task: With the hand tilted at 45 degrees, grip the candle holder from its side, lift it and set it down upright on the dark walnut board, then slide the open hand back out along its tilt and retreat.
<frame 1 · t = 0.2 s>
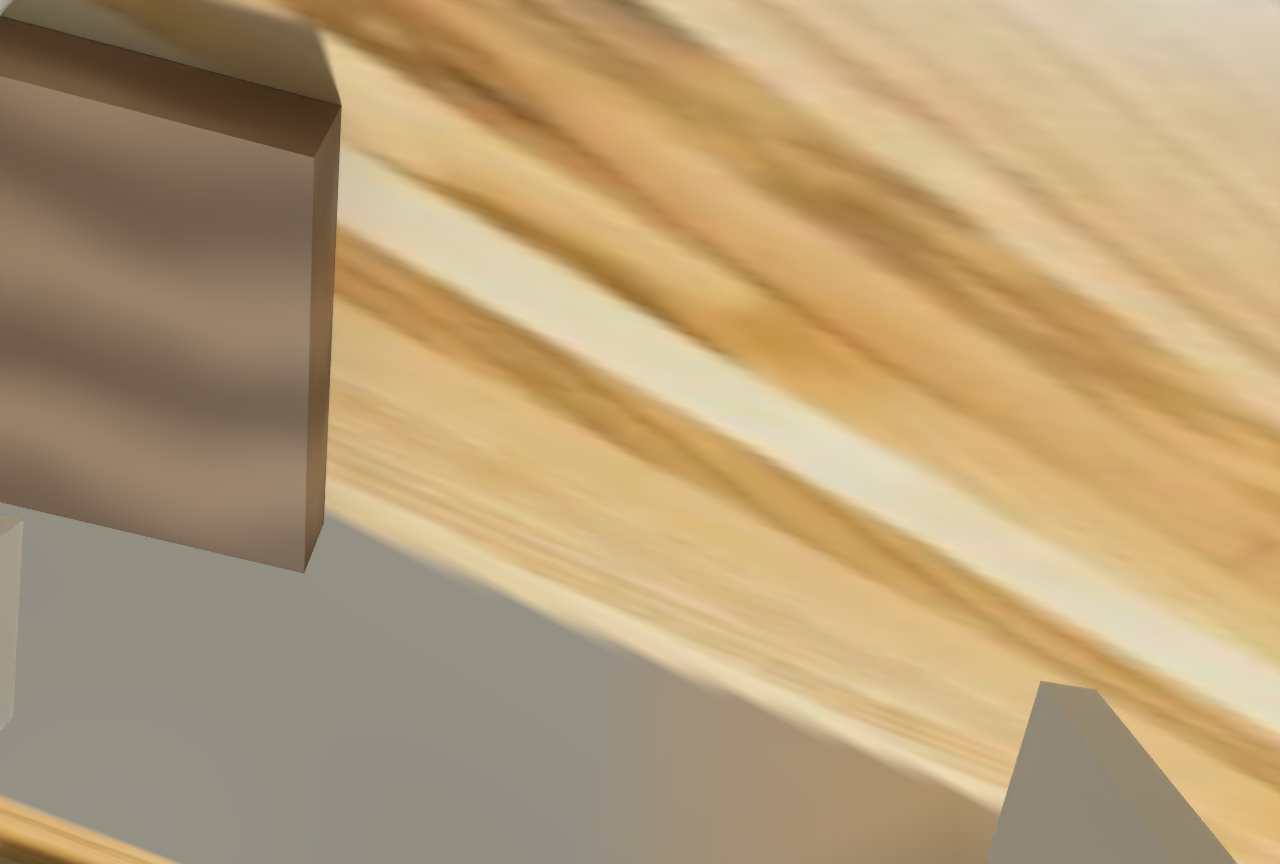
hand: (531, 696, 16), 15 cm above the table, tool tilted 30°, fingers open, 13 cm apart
walnut board: (74, 287, 33), on the table
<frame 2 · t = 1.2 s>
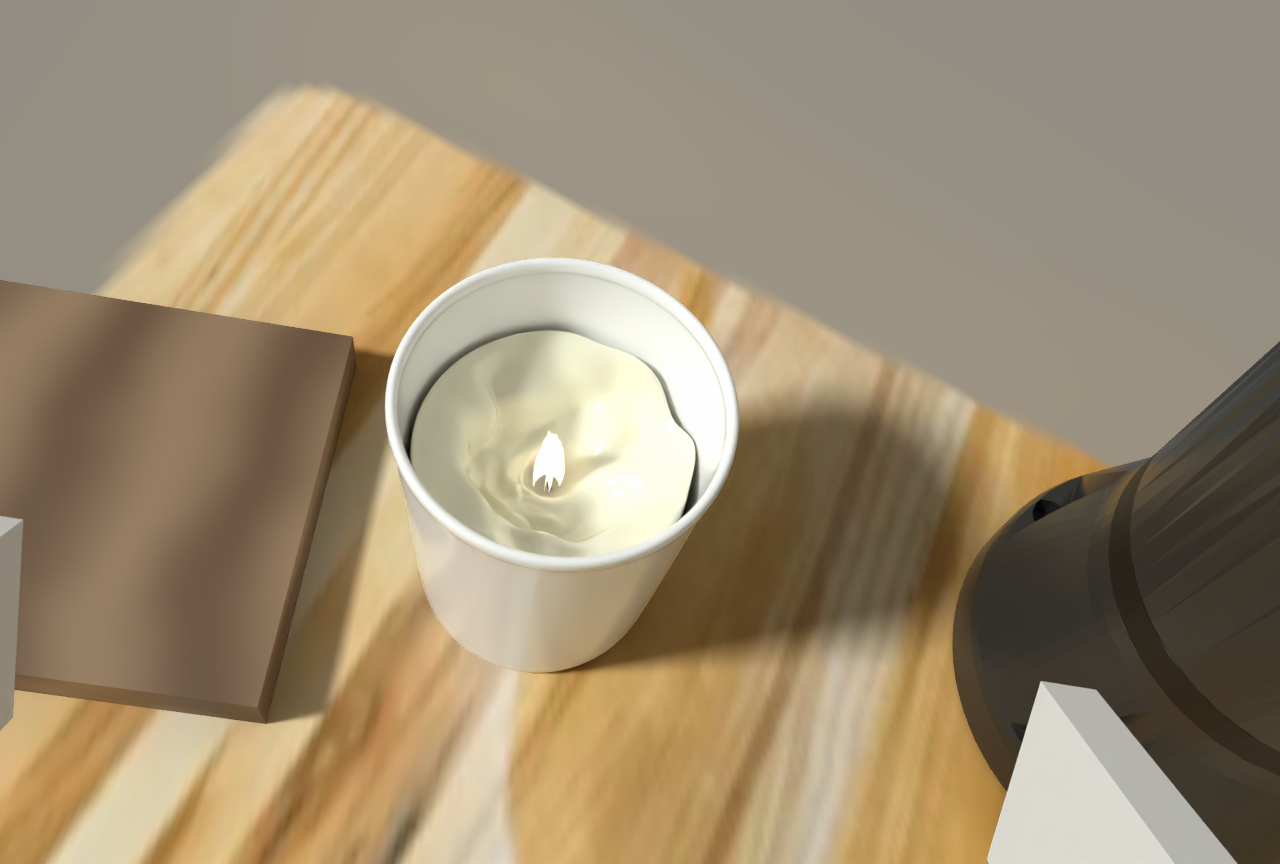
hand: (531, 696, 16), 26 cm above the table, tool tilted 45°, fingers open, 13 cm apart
candle holder: (536, 565, 44), on the table
walnut board: (85, 496, 43), on the table
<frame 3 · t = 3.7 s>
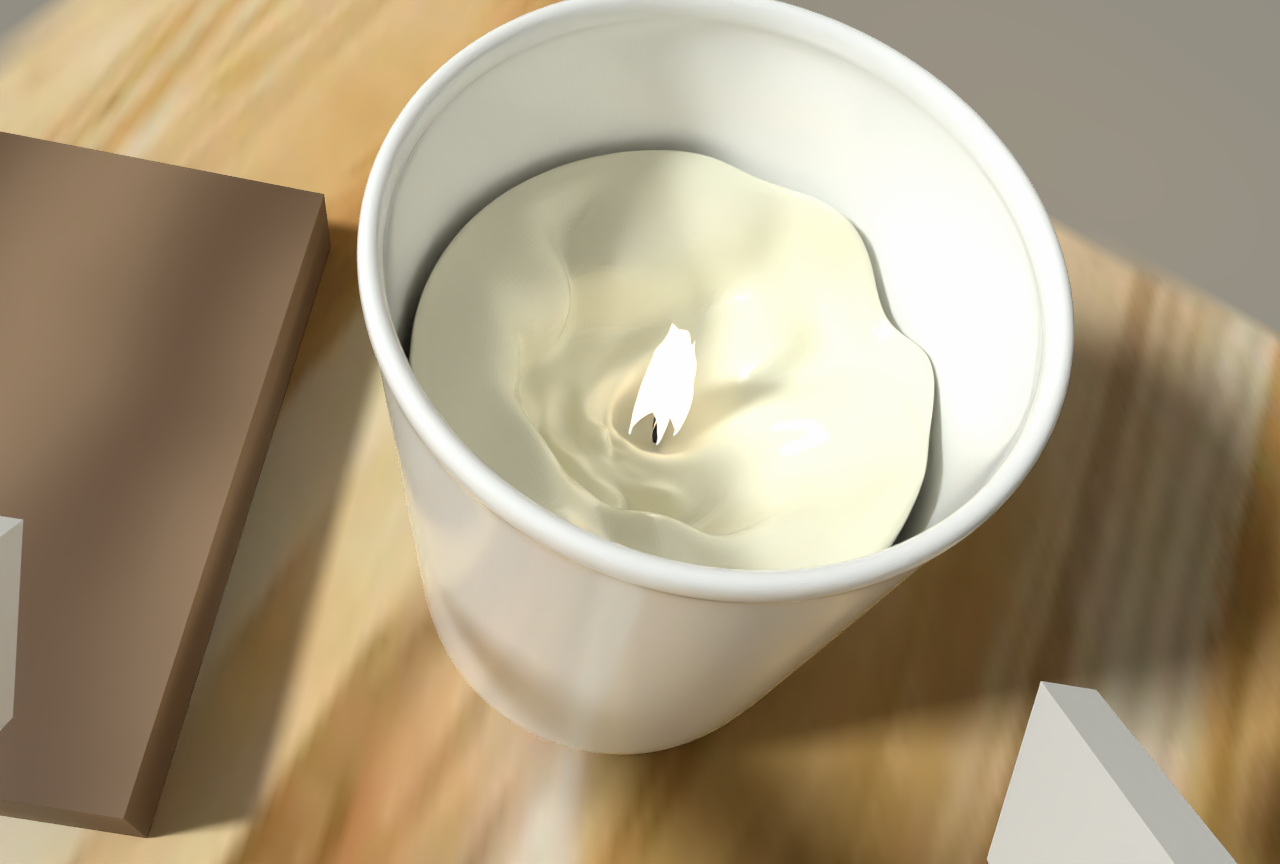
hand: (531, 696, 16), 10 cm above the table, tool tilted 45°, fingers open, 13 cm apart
candle holder: (613, 572, 27), on the table
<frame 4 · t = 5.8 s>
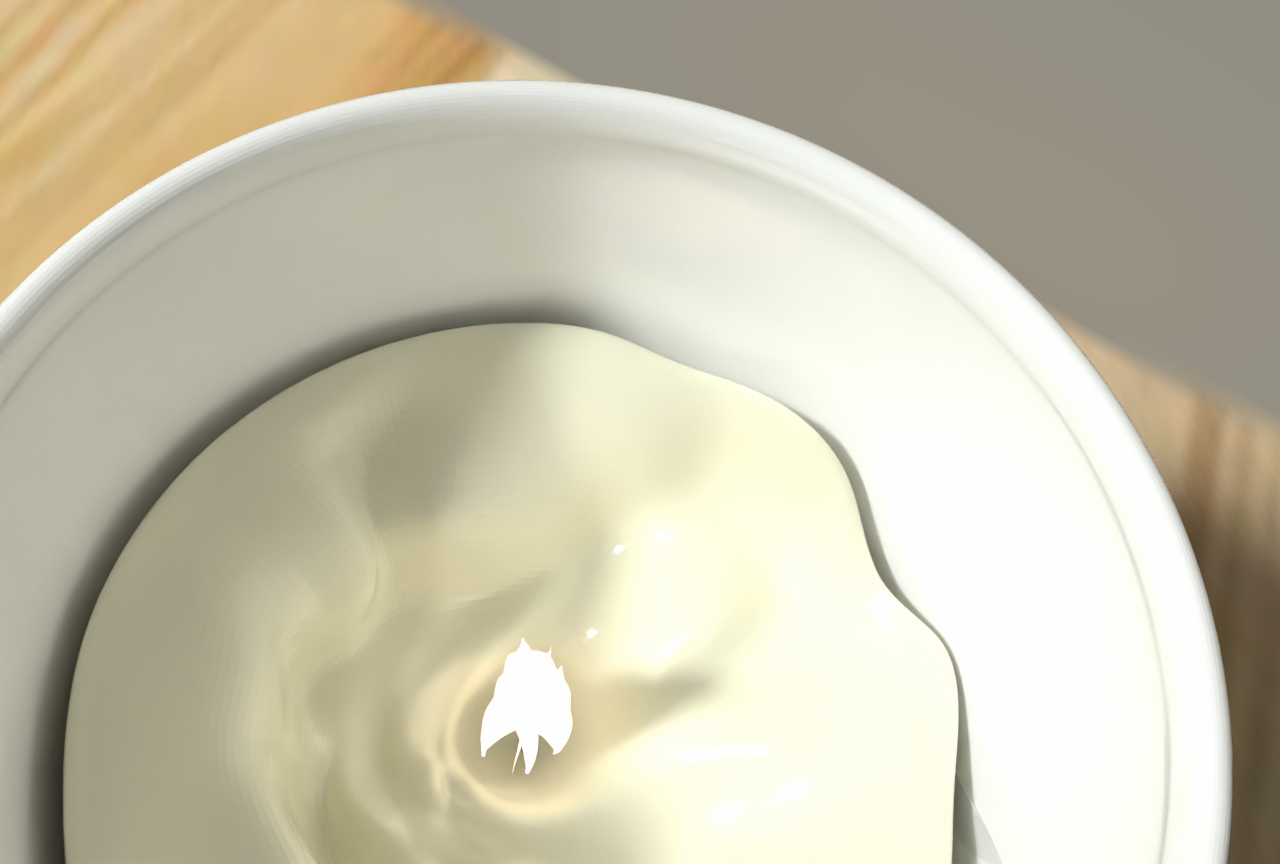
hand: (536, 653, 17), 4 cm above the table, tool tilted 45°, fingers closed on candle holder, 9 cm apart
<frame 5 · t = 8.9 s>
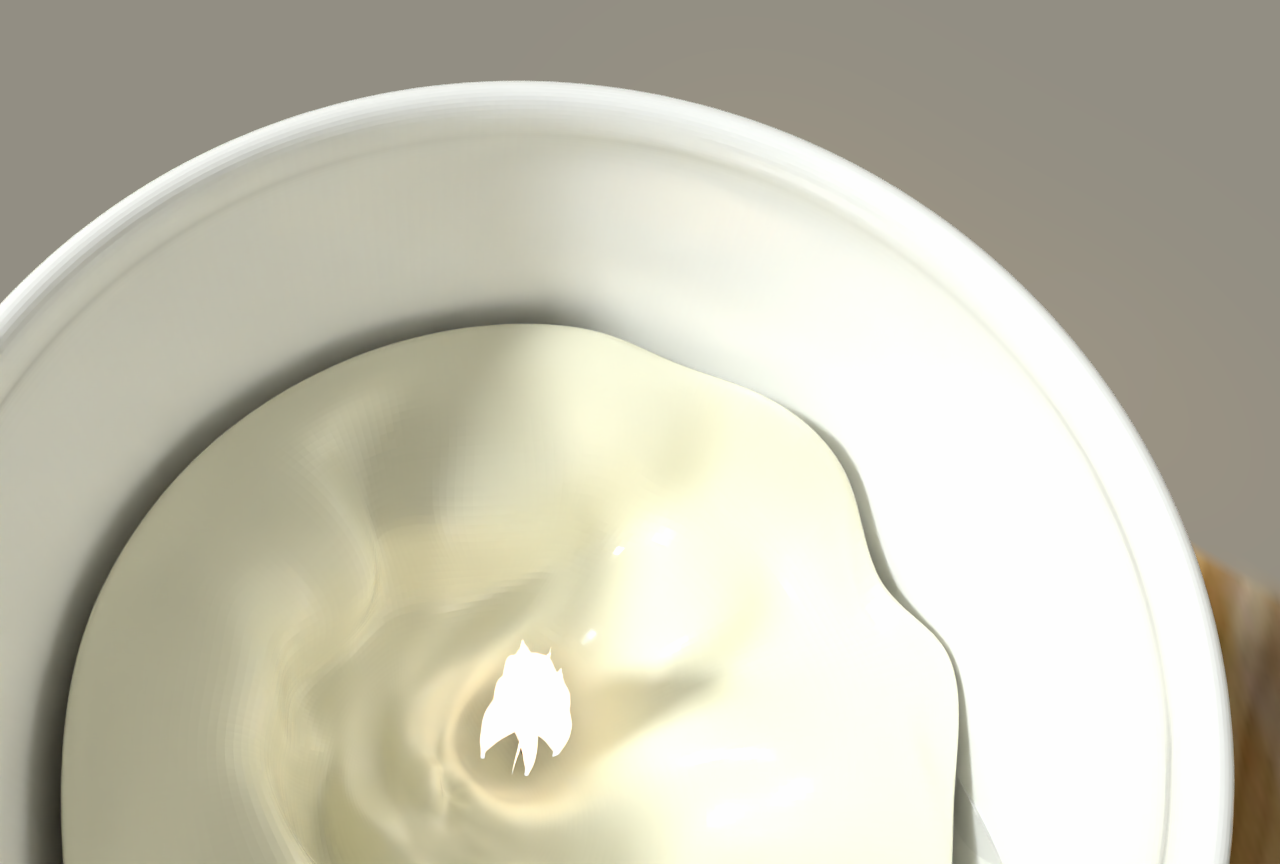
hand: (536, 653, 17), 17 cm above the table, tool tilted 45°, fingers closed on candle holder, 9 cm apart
when the fingers open (6 cm above the table, at t = 11.9 s): candle holder stays where it is, resting on walnut board.
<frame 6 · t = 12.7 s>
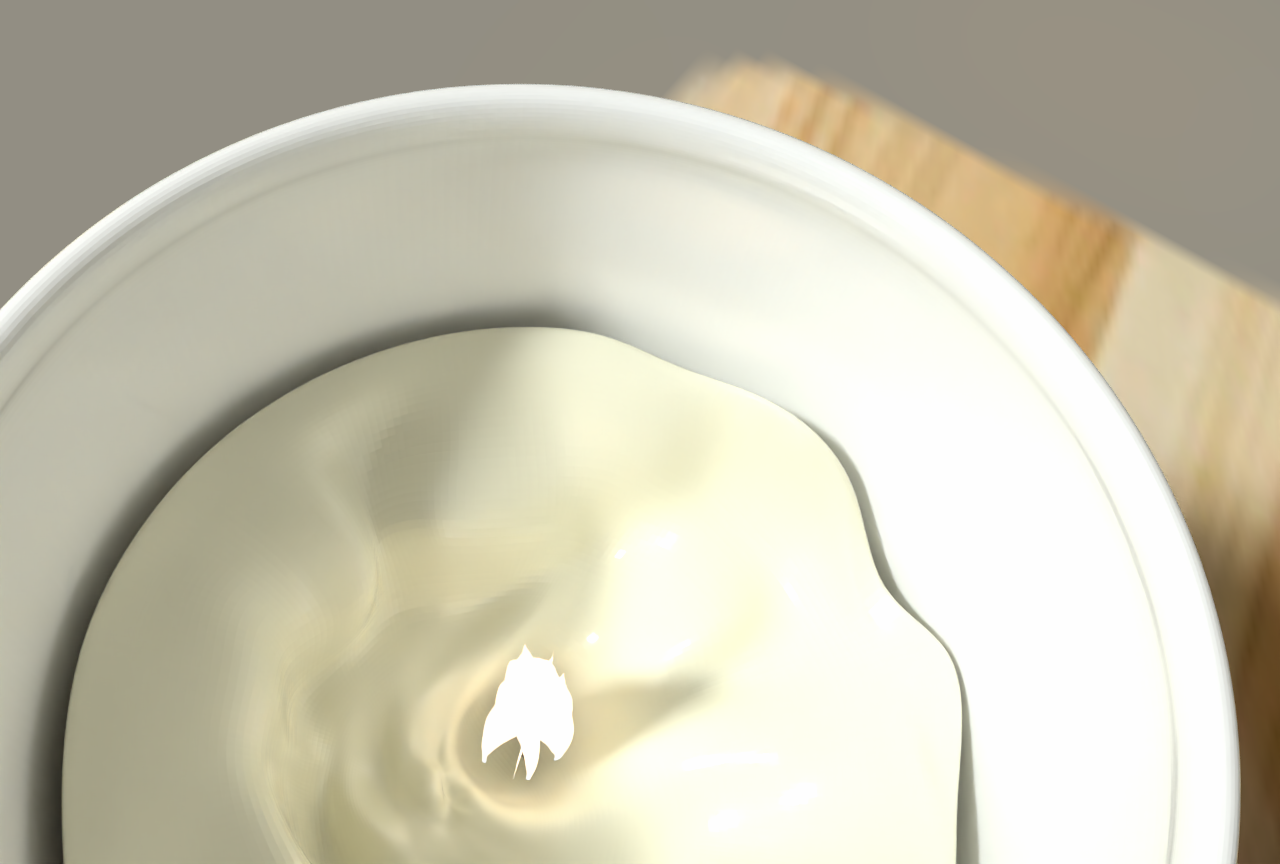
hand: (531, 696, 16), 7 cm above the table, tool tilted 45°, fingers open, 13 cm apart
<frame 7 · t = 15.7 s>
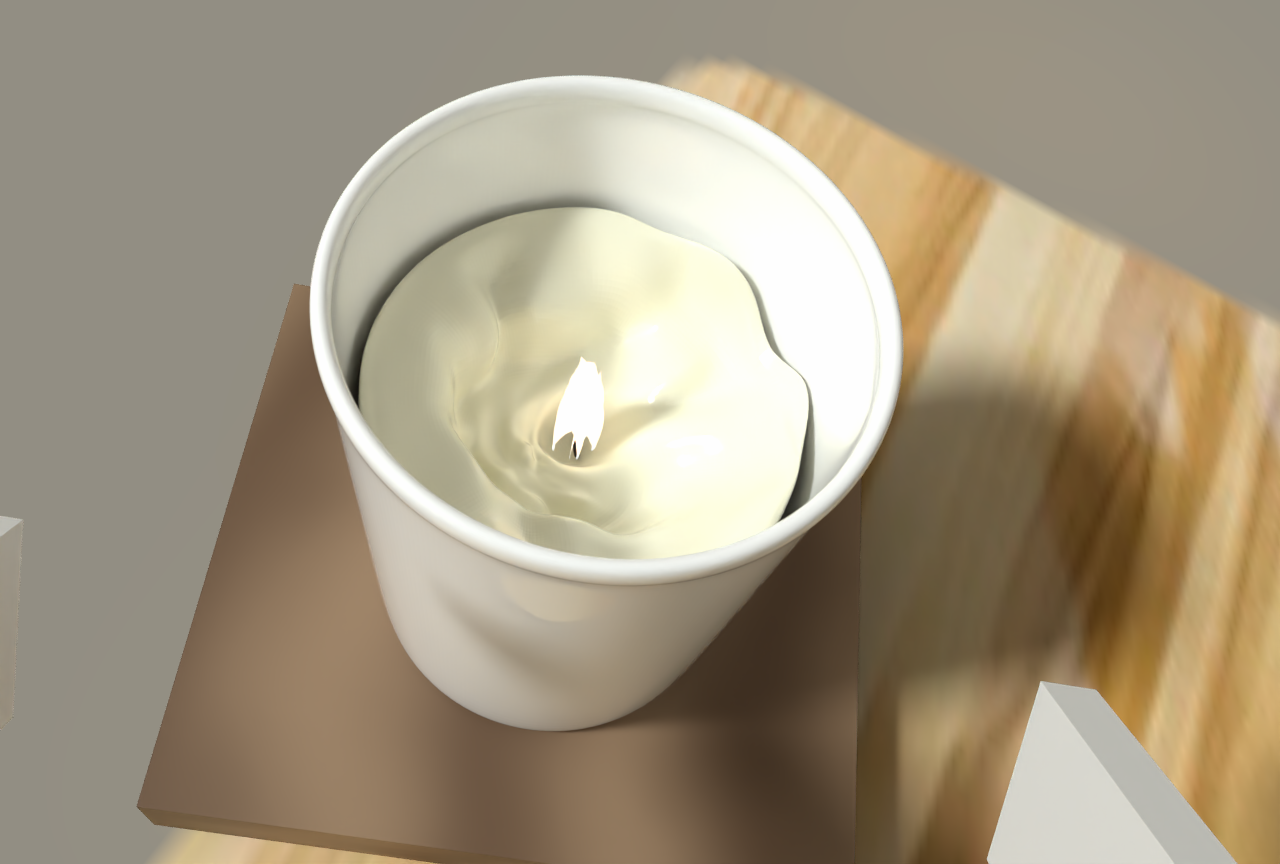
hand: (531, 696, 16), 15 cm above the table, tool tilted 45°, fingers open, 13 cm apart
candle holder: (550, 572, 31), point 2 cm above the table, touching walnut board
walnut board: (542, 594, 32), on the table
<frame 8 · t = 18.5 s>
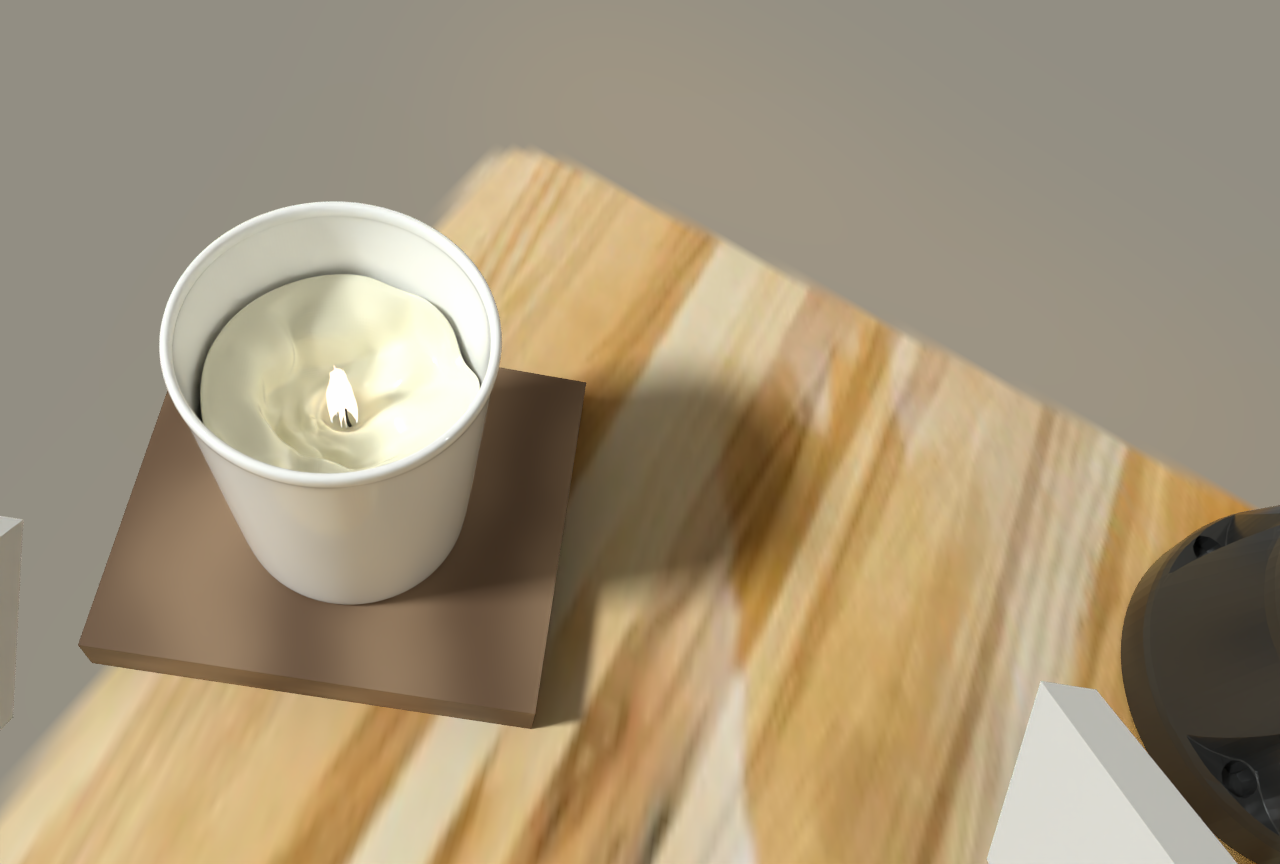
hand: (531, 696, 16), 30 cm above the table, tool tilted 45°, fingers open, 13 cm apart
candle holder: (356, 506, 46), point 2 cm above the table, touching walnut board
walnut board: (357, 523, 48), on the table
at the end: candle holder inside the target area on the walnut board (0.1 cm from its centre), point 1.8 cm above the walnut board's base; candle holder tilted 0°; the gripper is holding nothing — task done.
